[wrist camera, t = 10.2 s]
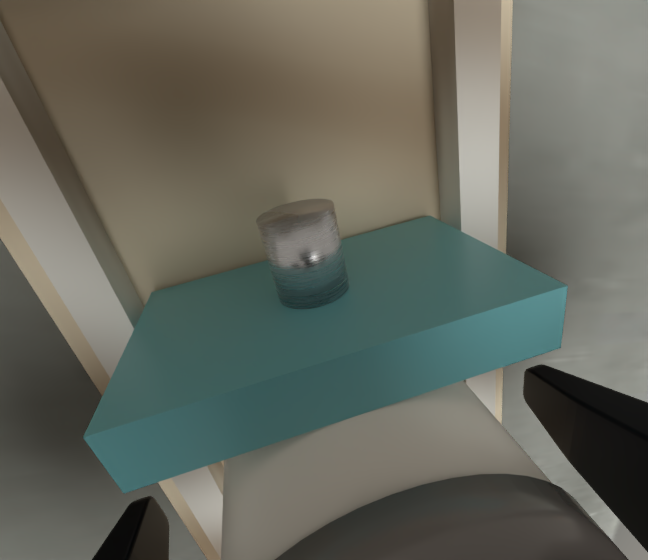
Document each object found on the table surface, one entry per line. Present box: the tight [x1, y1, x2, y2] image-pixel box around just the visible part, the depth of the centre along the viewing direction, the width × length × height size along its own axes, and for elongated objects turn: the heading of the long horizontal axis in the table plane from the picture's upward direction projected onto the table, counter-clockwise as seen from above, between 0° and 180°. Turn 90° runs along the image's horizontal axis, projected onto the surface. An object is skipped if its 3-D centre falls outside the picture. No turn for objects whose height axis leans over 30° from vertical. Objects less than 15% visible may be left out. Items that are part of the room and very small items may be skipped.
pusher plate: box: [83, 199, 568, 493], centre depth 7 cm, size 3×7×4 cm, turn 102°
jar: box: [221, 381, 628, 560], centre depth 8 cm, size 6×6×7 cm
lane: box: [0, 0, 513, 560], centre depth 9 cm, size 22×12×6 cm, turn 12°
